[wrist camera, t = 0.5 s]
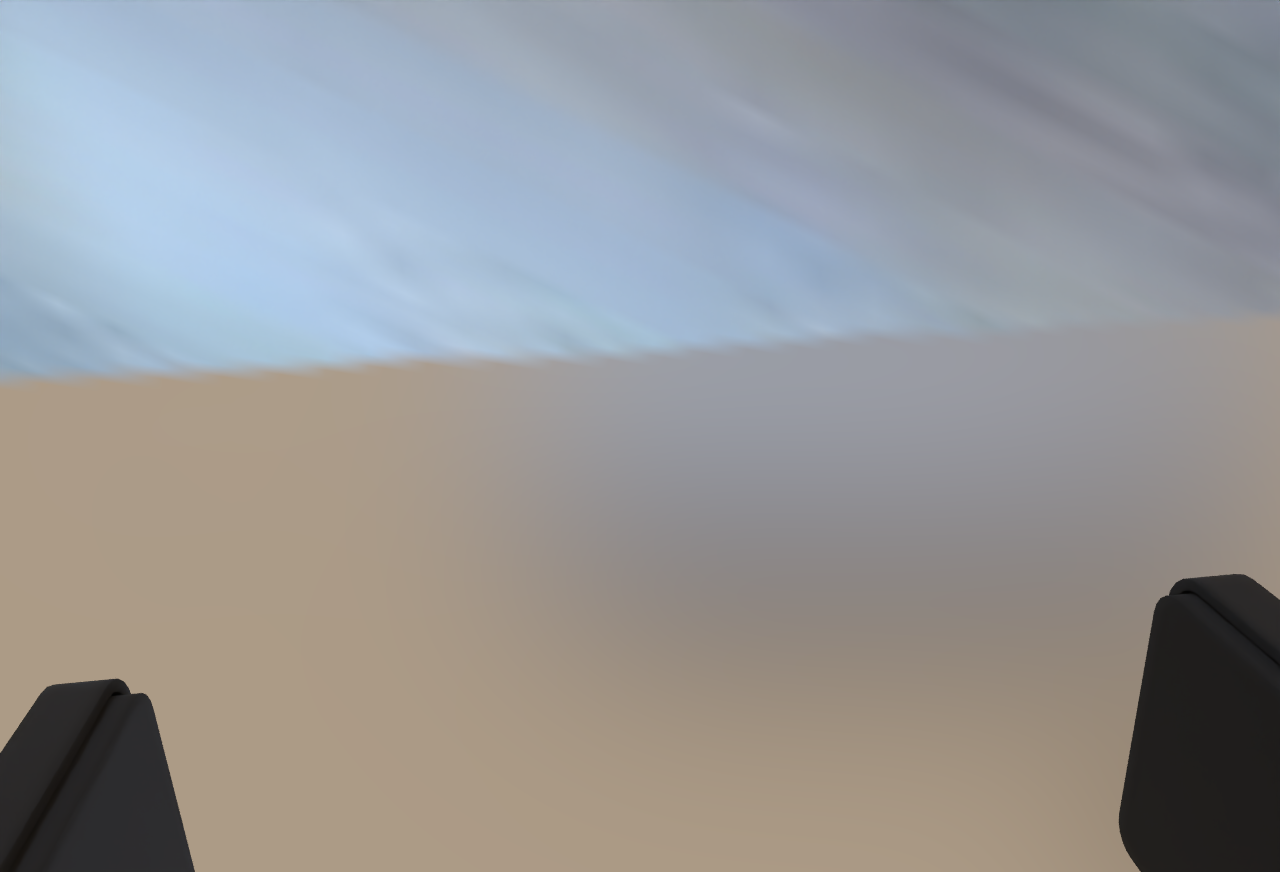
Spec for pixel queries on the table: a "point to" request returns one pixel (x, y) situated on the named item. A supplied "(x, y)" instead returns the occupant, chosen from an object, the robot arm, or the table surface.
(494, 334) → the table surface
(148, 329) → the table surface
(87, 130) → the table surface
